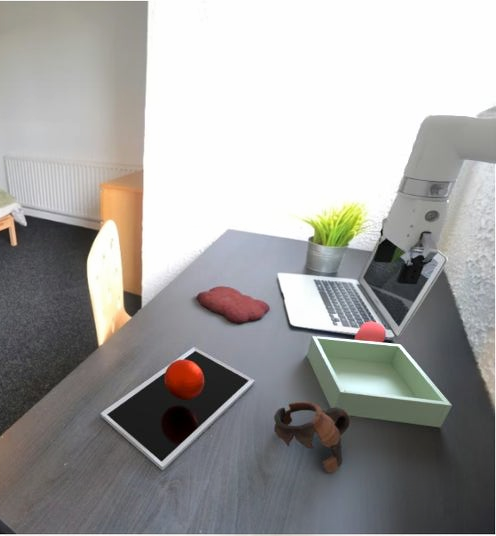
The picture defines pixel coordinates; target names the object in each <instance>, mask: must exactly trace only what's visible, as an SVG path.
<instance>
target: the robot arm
mask: <svg viewBox="0 0 496 536" xmlns="http://www.w3.org/2000/svg"><path fill="white" fill-rule="evenodd" d="M467 160H468V161H474V162H480V163H481V162H482V163H486V164H494V165H496V105H494V106H492V107H490V108H487V109H485V110H483V111H480V112H478V113H476V114H474V115H472V114H463V113H434V114H429V115H427V116H425V117H424V118H423V119H422V120H421V122H420V123H419V126H418V129H417V132H416V135H415V138H414V140H413V143H412V147H411V149H410V151H409V155H408V158H407V161H406V163H405V167H404V170H403V173H402V176H401V178H400V181H399V183H398V186H397V190H396V196H395V198H394V199H393V202H392V204H391V206H390V209H389V212H388V214H387V216H386V217H385V218H383V219H382V221H381V229H380V231H379V233H380V237H379V238H378V245H377V248H376V251H375V253H374V257H373V262H374V263H384V264H385V263H386V264H387V263H388V264H390V263H391V262H392V261H393V258H394V255H395V253H396V250H397V247H398V248H399V249H400V250H402V251H403V252H405V262H402V265H401V267H400V270H399V273H398V276H397V277H396V283H398V284H404V285H417V284H418V282H419V280H420V277H421V274H422V272H423V270H424V267H427V266H428V264H430V263H431V262H432V261H433V258H435V256H437V254H438V253H439V249H438V244H439V242H440V238H441V236H442V233H443V230H444V227H445V224H446V220H447V217H448V210H449V204H450V201H449V199H450V197H451V195H452V193H453V190H454V187H455V185H456V183H457V180H458V177H459V175H460V173H461V170H462V167H463V166H464V163H465V161H467ZM414 254H418V255H416V256H414Z"/></svg>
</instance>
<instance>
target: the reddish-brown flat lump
mask: <svg viewBox="0 0 496 536" xmlns="http://www.w3.org/2000/svg"><path fill="white" fill-rule="evenodd" d="M196 298H197V300H198V301H199V304H200V305H201V306H203V307H204V308H206V309H209V310H210V311H211V312H213V313H216V314H220V315H222V316H224V317H225V318H226V320H228V321H230V322H232V323H236V324H243V323H247V322H248V321H258V320H261V319H262V318H264V316H265V314H266V313H268V312H269V311H270V310H271V307H270V305H269V304H268V303H267V302H266V301H264V300H261V299H254V298H253V297H252V296H250V295H248V294H247V295H246V294H243V293H241V291H239V290H238V289H235V288H233V287H230V286H223V285H222V286H221V285H219V286H215V287H213V288H210V289H209V290H206V291H201V292H199V293H198V294H197V296H196Z"/></svg>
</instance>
